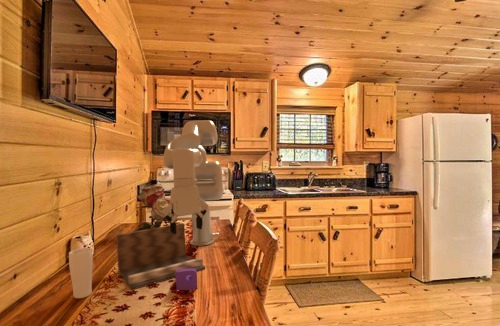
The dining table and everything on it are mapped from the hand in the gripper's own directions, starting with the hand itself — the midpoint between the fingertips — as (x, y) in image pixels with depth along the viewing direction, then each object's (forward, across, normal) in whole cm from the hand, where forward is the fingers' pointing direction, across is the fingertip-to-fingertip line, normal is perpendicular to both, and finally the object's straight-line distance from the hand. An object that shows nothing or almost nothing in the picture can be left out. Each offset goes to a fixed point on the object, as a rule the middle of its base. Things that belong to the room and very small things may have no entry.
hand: (186, 230), depth 105 cm
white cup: (+19, +32, -14) cm, 39 cm away
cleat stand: (+18, +4, -18) cm, 26 cm away
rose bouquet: (+18, -17, -81) cm, 85 cm away
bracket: (+19, +1, 0) cm, 19 cm away
